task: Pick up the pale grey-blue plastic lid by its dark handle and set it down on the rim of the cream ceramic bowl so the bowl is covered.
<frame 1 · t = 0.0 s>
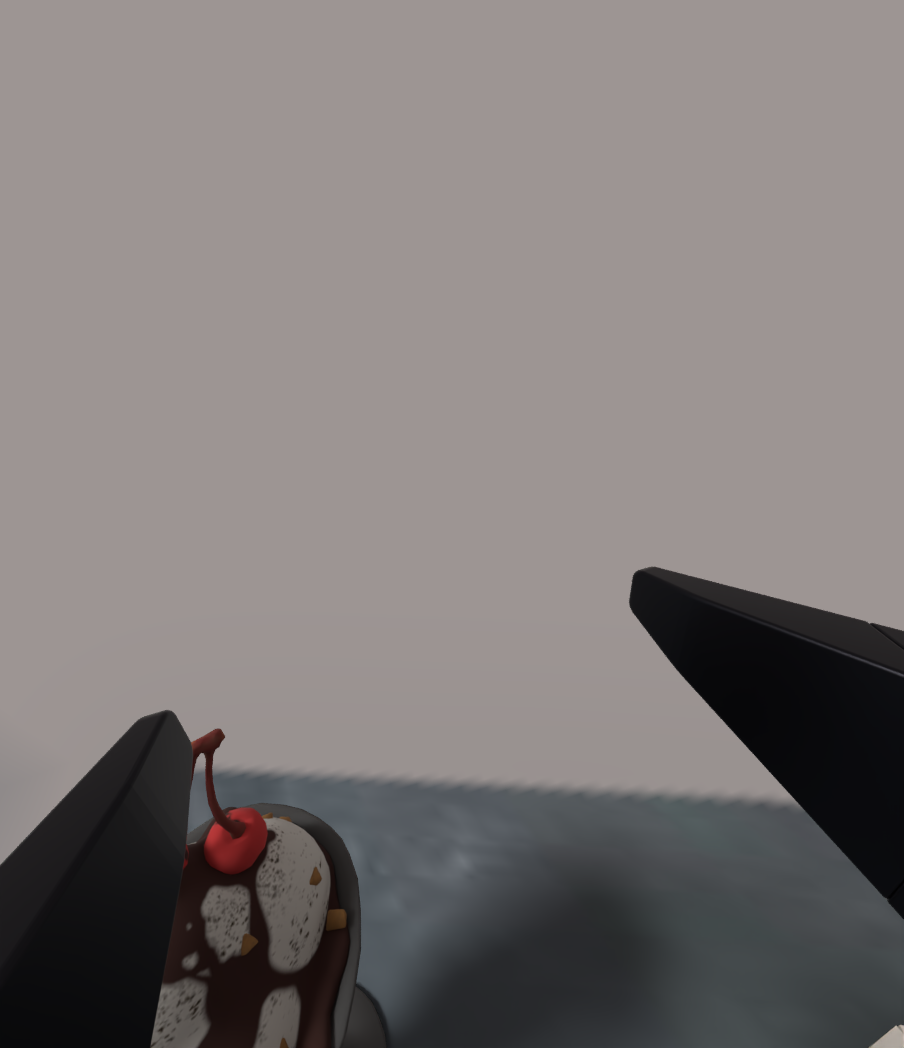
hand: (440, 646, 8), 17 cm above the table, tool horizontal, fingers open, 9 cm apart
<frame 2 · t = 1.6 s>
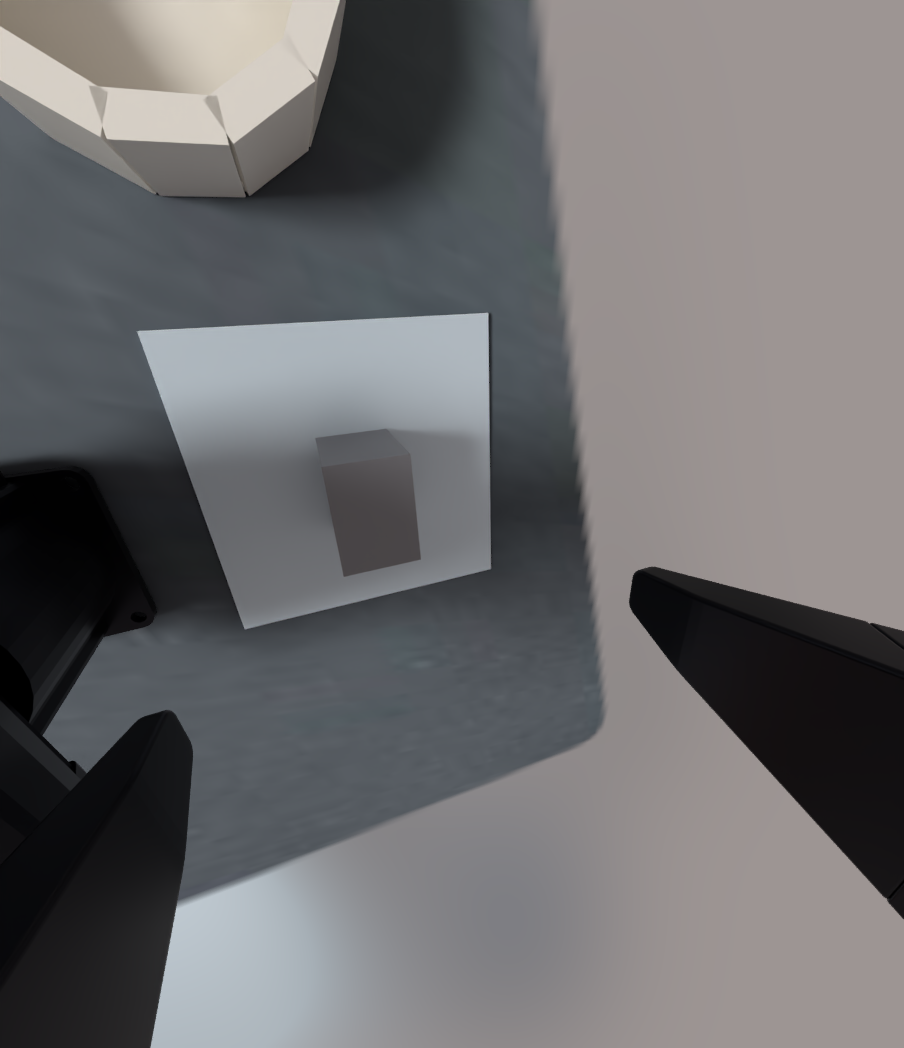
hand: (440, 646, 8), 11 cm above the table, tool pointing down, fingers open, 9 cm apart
lid: (356, 474, 18), on the table
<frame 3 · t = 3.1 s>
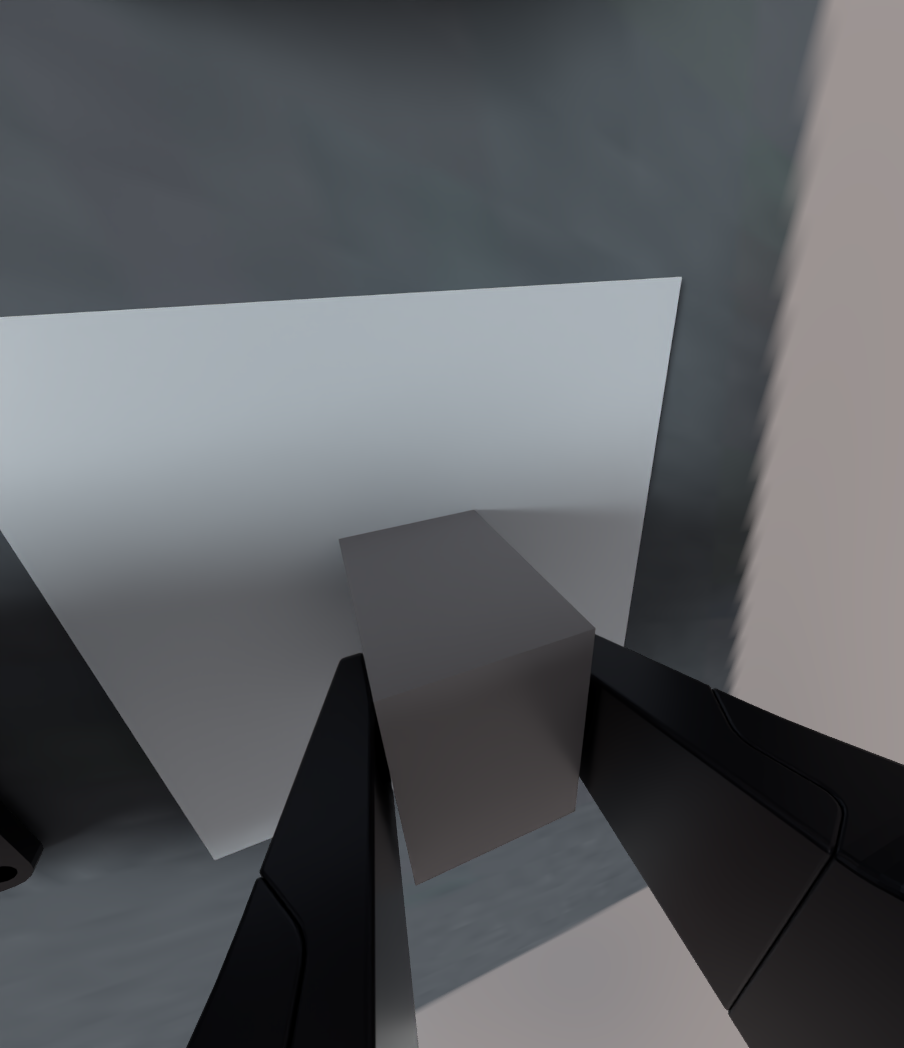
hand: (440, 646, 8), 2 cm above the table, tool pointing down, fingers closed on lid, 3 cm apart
lid: (411, 584, 10), on the table, touching gripper
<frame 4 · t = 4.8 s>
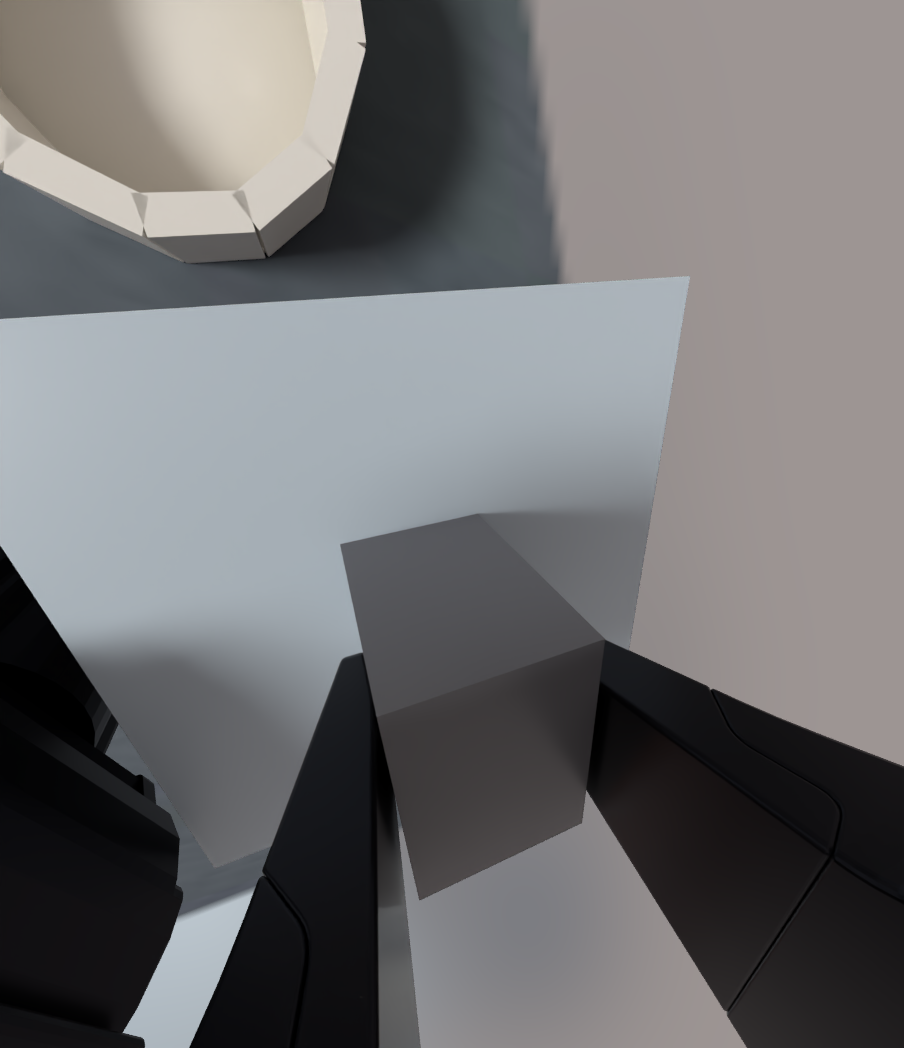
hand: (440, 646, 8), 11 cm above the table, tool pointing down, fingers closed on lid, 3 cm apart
lid: (413, 589, 10), point 9 cm above the table, touching gripper
bowl: (168, 61, 11), on the table
when the fingers open (7 cm above the table, at t = 6.4 s): lid drops 1 cm, resting on bowl.
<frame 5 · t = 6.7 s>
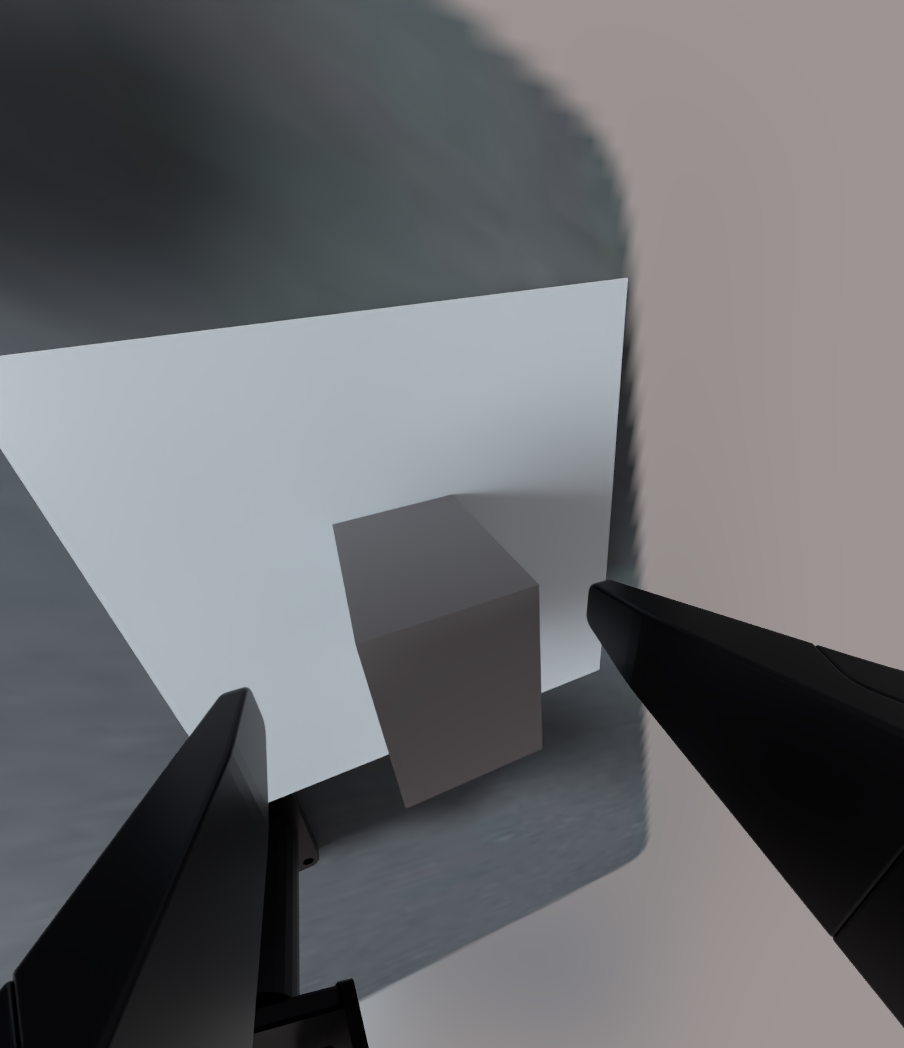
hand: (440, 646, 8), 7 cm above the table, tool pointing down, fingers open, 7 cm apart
lid: (401, 564, 11), point 4 cm above the table, touching bowl
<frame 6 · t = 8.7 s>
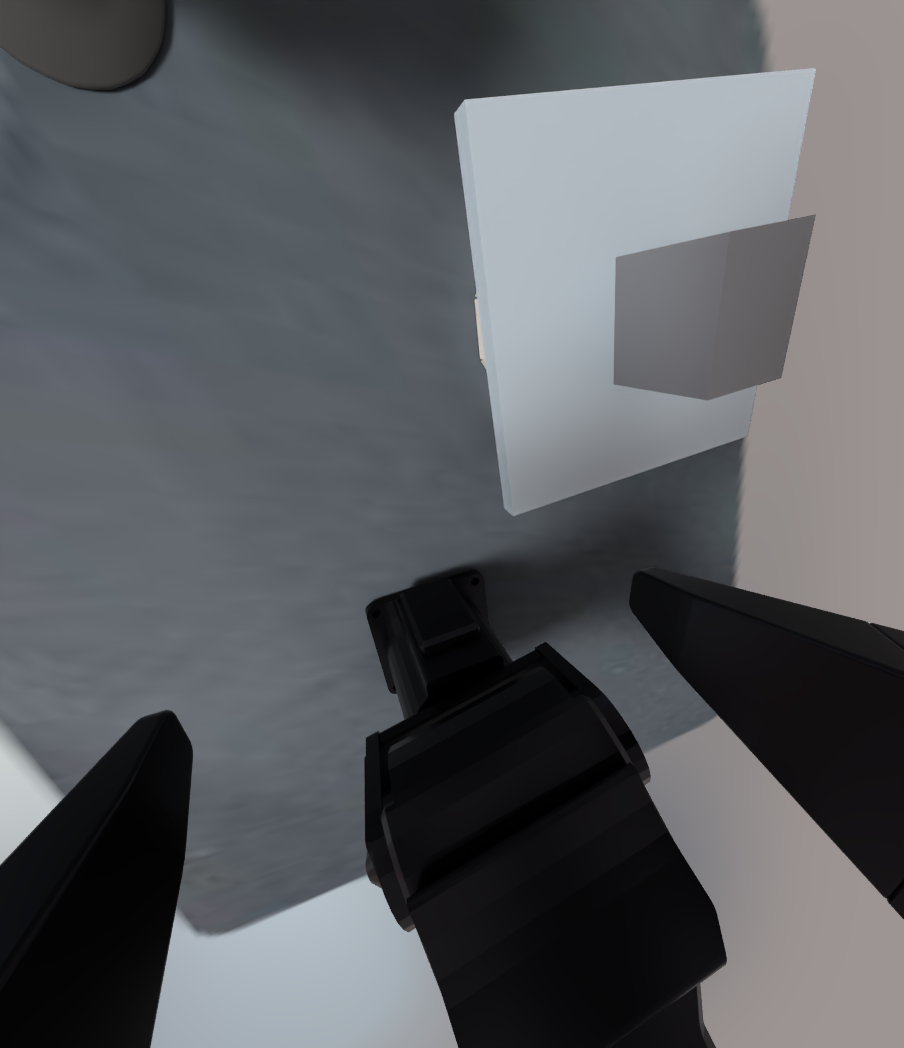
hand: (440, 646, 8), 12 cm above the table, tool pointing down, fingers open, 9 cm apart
lid: (631, 317, 15), point 4 cm above the table, touching bowl
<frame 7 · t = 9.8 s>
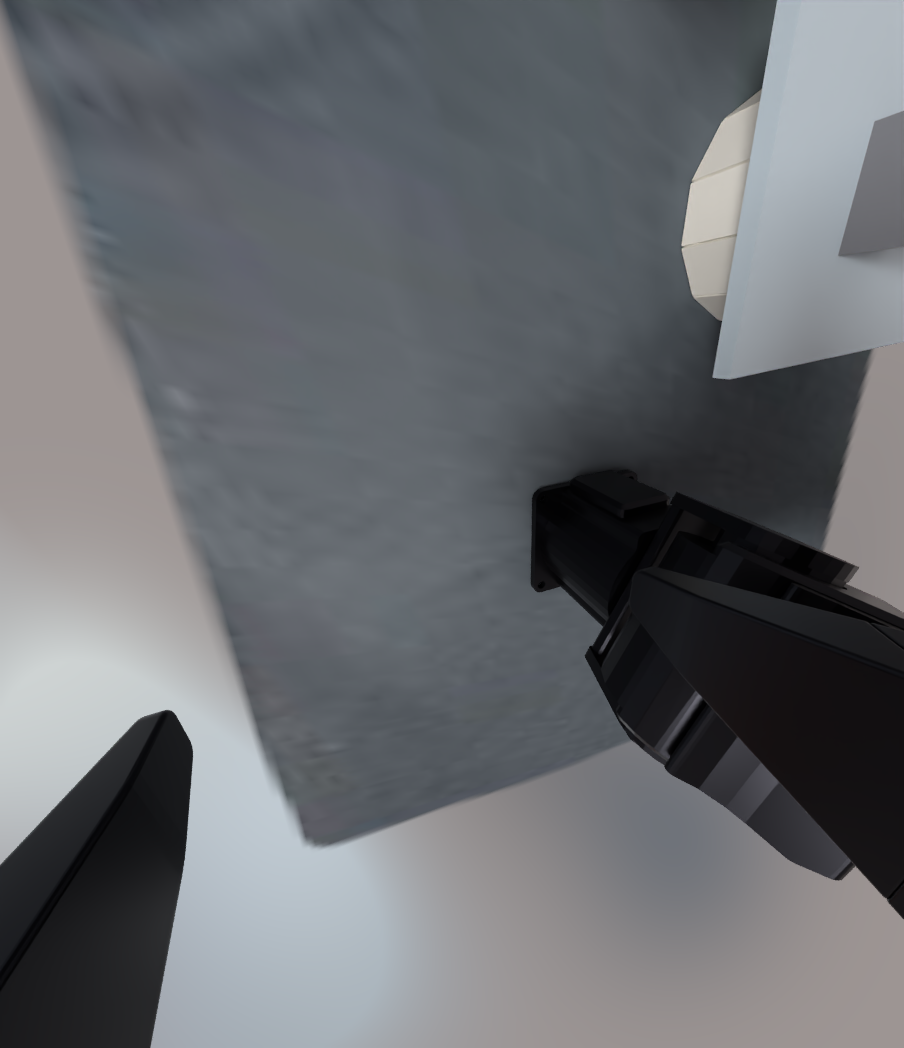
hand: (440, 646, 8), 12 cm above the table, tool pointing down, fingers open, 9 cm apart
lid: (855, 196, 16), point 4 cm above the table, touching bowl
bowl: (759, 215, 20), on the table
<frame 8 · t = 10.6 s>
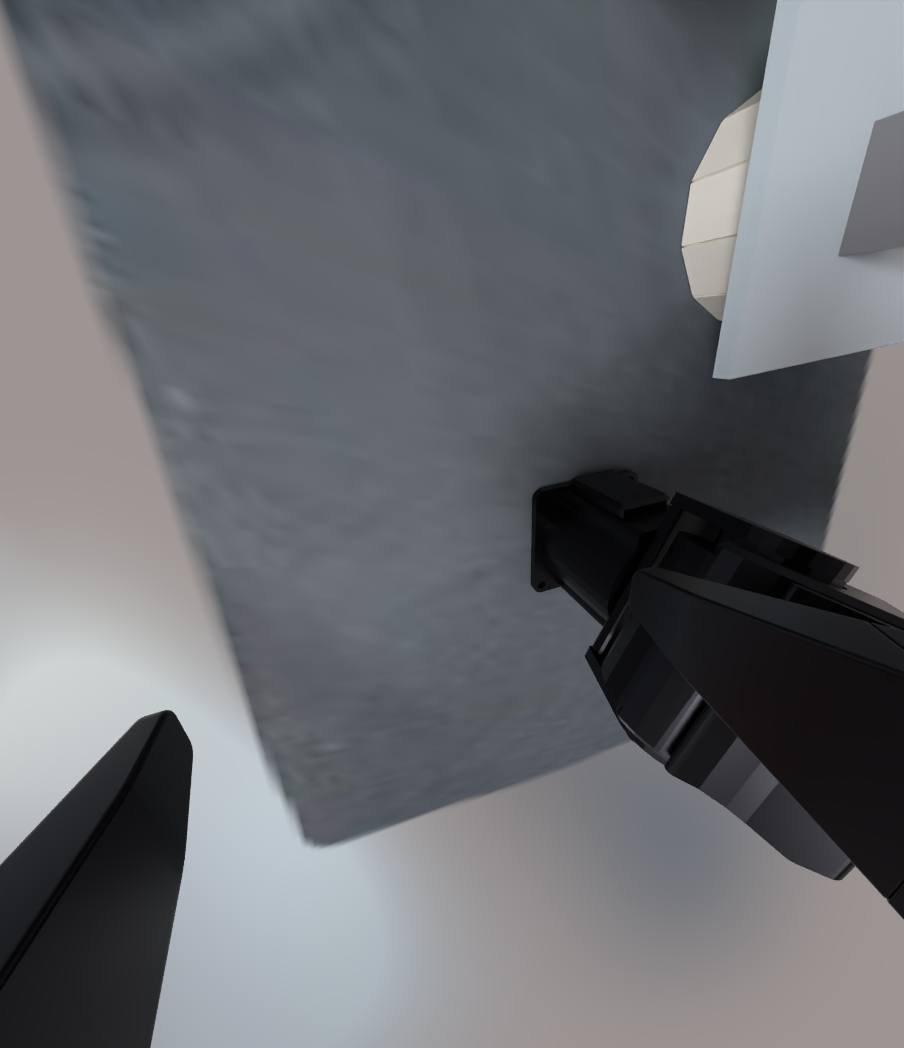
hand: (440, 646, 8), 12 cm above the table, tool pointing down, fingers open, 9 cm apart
lid: (855, 196, 16), point 4 cm above the table, touching bowl
bowl: (759, 215, 20), on the table
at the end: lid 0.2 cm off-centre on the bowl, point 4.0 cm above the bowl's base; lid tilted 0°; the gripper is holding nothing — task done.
